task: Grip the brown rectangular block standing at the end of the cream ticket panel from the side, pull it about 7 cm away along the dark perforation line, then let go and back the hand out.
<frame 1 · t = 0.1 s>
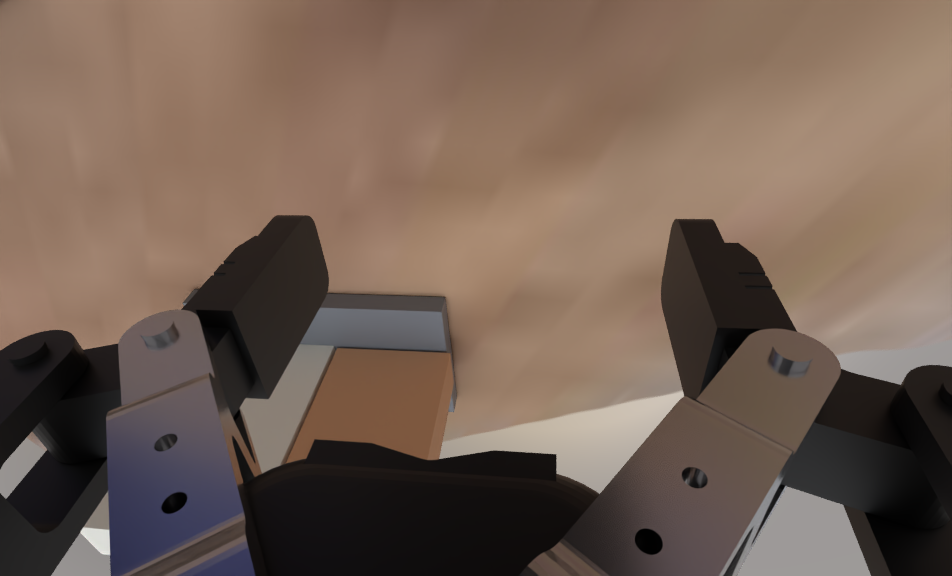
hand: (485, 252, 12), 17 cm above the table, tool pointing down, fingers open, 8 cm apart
brown rectangular block: (369, 450, 33), point 9 cm above the table, slide at 0.0 cm
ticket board: (331, 345, 40), on the table
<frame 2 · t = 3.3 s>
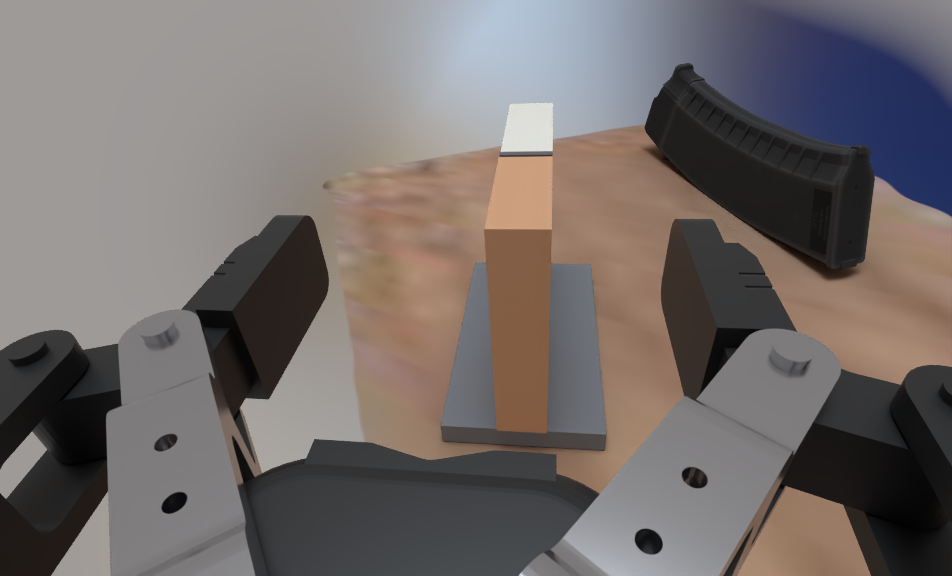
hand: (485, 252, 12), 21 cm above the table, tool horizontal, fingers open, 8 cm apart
brown rectangular block: (523, 298, 31), point 9 cm above the table, slide at 0.0 cm
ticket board: (527, 346, 41), on the table
magazine: (726, 201, 57), on the table
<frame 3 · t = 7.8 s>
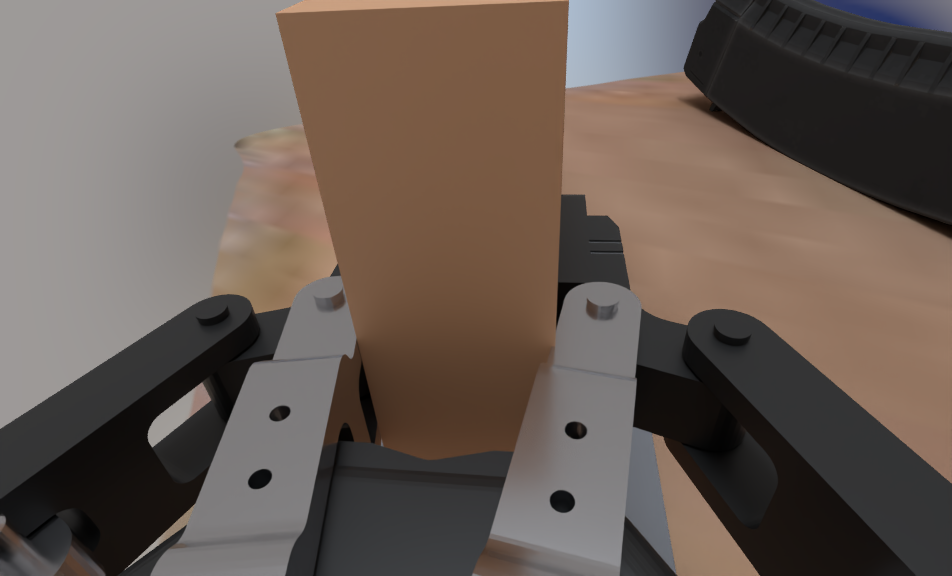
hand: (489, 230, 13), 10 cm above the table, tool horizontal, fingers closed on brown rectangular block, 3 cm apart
brown rectangular block: (487, 307, 13), point 9 cm above the table, slide at 0.0 cm, touching gripper
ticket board: (510, 394, 22), on the table
magazine: (815, 163, 39), on the table
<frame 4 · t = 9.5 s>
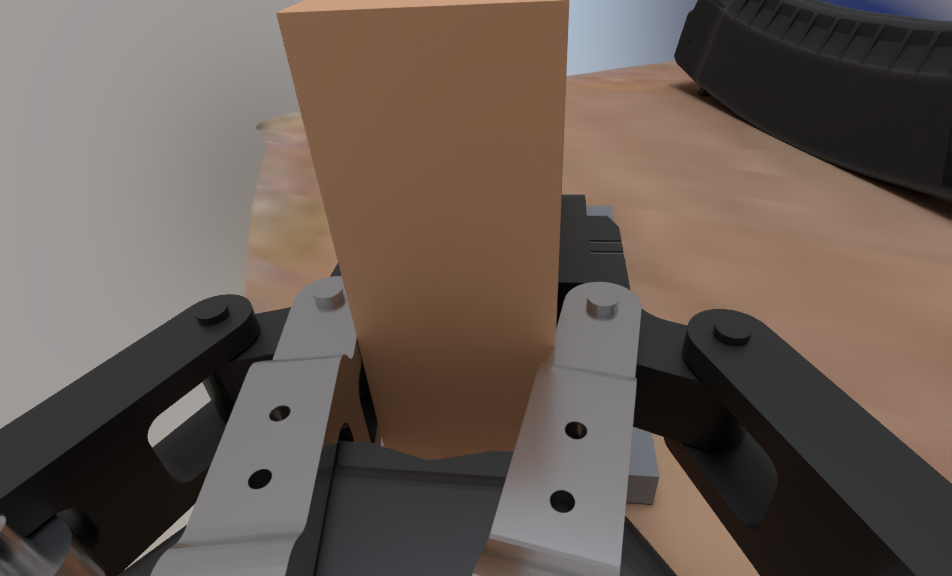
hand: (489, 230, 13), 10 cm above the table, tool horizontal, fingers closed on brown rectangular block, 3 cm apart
brown rectangular block: (487, 307, 13), point 9 cm above the table, slide at 4.5 cm, touching gripper
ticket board: (516, 323, 26), on the table
magazine: (793, 139, 42), on the table
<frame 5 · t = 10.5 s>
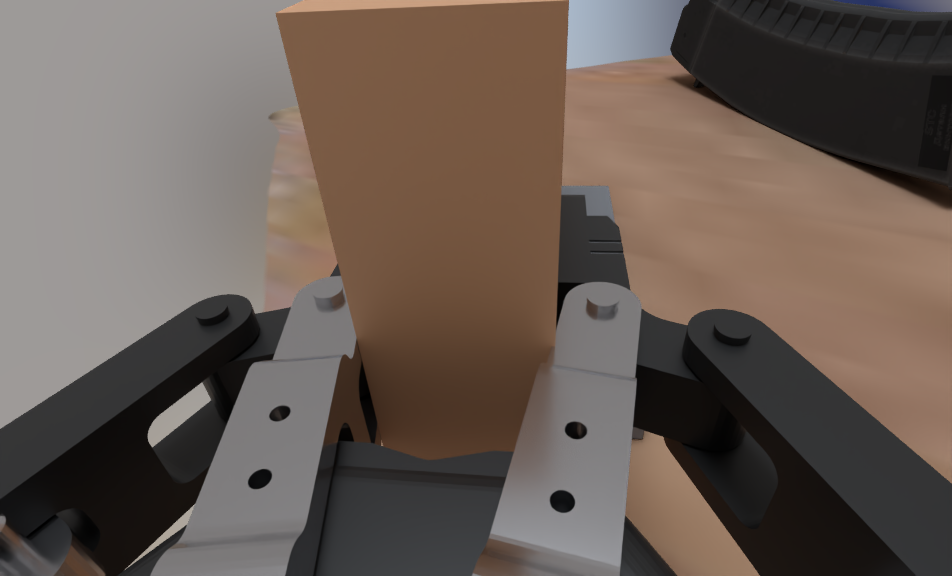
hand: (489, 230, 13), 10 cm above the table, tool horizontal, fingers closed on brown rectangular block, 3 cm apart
brown rectangular block: (487, 307, 13), point 9 cm above the table, slide at 7.1 cm, touching gripper
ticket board: (519, 290, 28), on the table
magazine: (782, 127, 44), on the table
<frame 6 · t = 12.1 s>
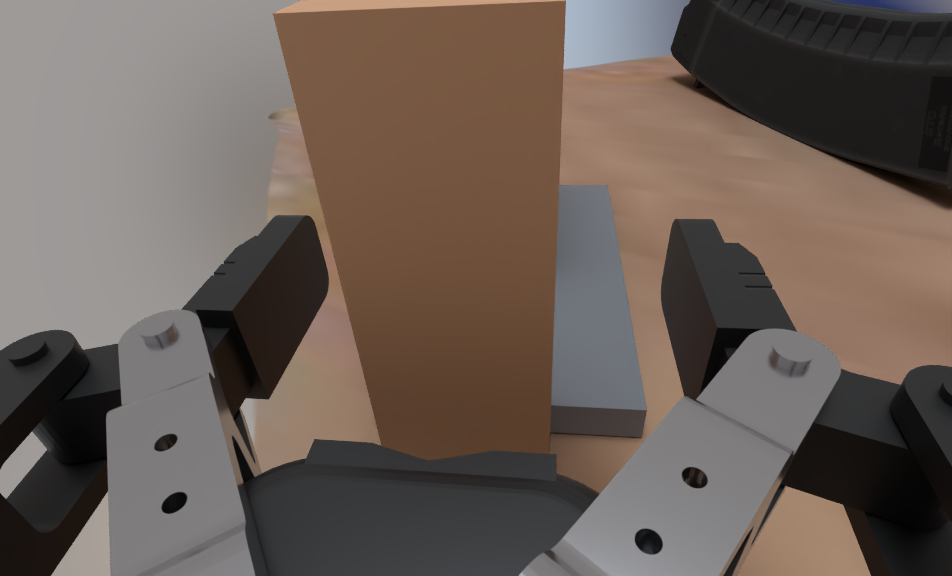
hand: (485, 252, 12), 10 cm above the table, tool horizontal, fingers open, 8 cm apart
brown rectangular block: (486, 307, 13), point 9 cm above the table, slide at 7.2 cm
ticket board: (519, 289, 28), on the table
magazine: (782, 128, 44), on the table
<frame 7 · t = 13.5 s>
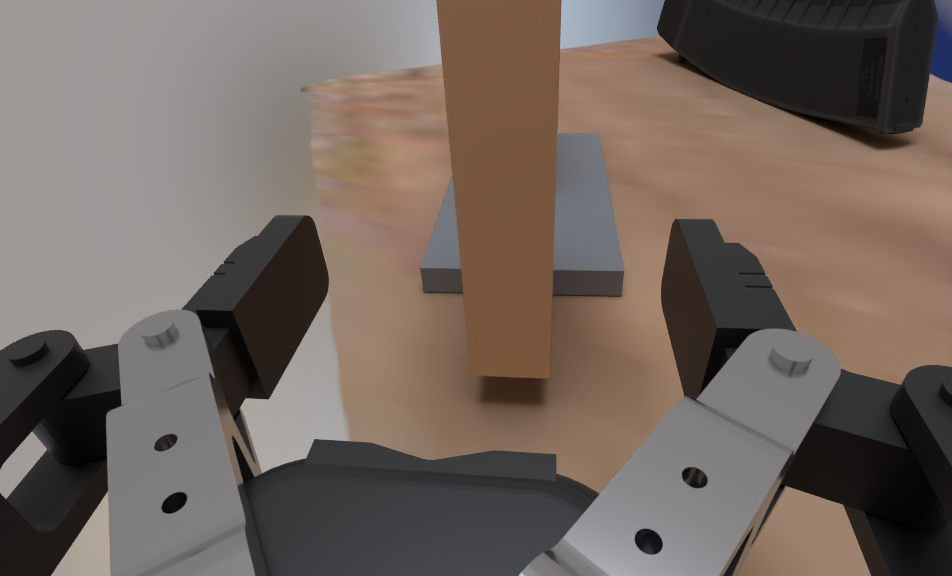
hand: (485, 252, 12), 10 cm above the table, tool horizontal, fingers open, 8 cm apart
brown rectangular block: (512, 160, 20), point 9 cm above the table, slide at 7.2 cm
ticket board: (526, 208, 35), on the table
magazine: (752, 92, 51), on the table
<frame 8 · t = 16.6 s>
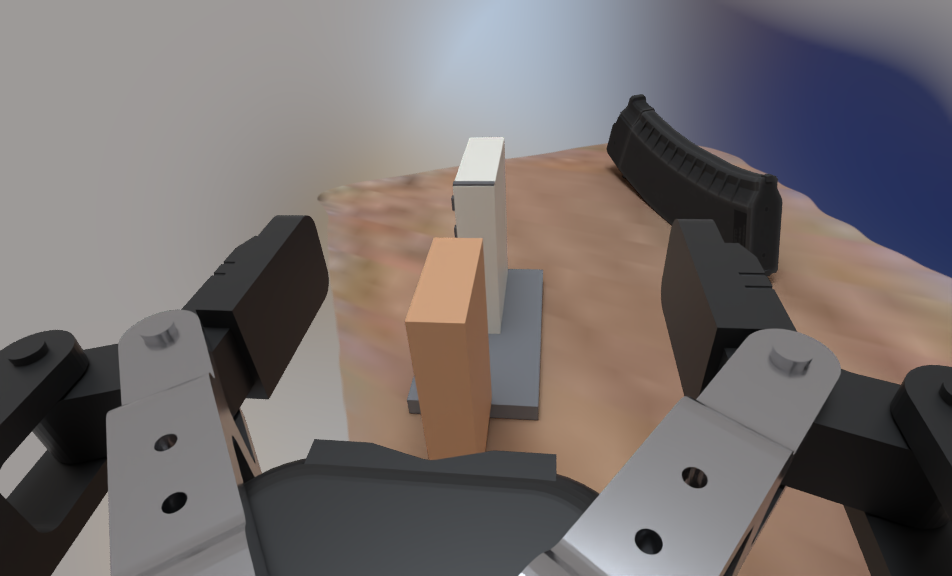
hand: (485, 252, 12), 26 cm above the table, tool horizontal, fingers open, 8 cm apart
brown rectangular block: (457, 367, 34), point 9 cm above the table, slide at 7.2 cm
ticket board: (485, 338, 49), on the table
magazine: (673, 217, 65), on the table
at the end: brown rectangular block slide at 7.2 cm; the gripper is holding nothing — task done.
